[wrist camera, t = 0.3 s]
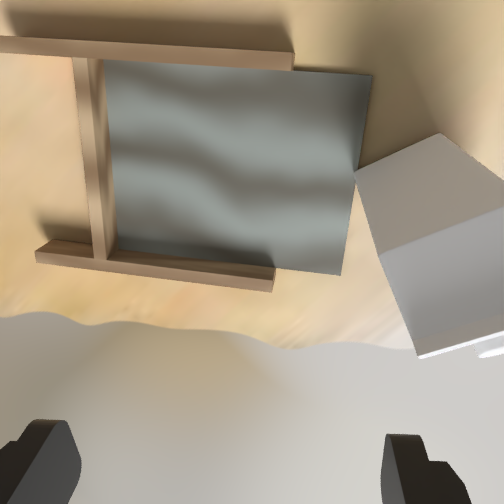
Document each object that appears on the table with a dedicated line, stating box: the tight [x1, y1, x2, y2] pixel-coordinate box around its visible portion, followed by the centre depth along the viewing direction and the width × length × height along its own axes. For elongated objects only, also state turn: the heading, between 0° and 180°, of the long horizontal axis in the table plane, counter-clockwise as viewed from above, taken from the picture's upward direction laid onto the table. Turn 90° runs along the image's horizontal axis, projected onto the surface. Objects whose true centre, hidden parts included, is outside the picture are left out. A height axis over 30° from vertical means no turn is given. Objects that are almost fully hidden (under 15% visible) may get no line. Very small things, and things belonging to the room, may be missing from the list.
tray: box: [0, 36, 373, 293], centre depth 36 cm, size 19×29×3 cm
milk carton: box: [354, 133, 504, 359], centre depth 26 cm, size 7×7×19 cm
